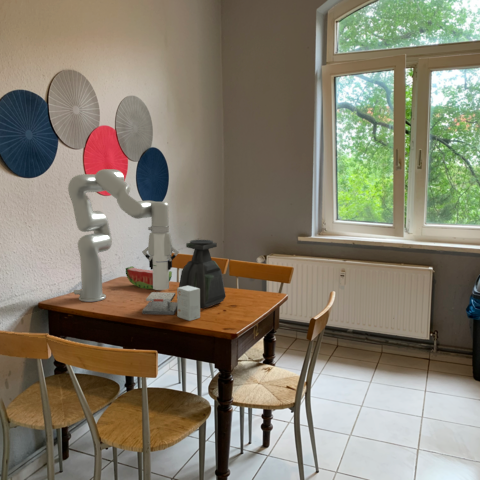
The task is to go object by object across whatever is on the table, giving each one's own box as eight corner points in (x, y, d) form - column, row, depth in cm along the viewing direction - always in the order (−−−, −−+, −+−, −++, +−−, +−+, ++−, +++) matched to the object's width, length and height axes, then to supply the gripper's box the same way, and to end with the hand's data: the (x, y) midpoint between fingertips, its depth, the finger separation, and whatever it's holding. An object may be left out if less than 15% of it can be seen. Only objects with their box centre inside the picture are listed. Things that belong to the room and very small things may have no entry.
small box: (200, 317, 197) (200, 288, 195) (189, 321, 192) (189, 291, 190) (188, 313, 202) (188, 285, 200) (176, 316, 197) (176, 287, 195)
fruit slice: (172, 289, 243) (172, 271, 241) (165, 292, 237) (165, 273, 236) (132, 283, 254) (132, 266, 252) (125, 286, 248) (124, 268, 246)
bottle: (226, 302, 219) (227, 241, 215) (205, 311, 206) (205, 245, 201) (198, 296, 229) (197, 237, 225) (175, 304, 216) (175, 241, 211)
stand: (142, 313, 201) (141, 299, 200) (149, 304, 214) (149, 291, 214) (173, 314, 200) (173, 300, 199) (179, 305, 214) (179, 291, 213)
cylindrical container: (165, 290, 202) (165, 234, 198) (150, 289, 203) (149, 233, 199) (171, 286, 209) (170, 232, 205) (156, 285, 210) (155, 231, 206)
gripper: (138, 230, 198) (139, 270, 201) (178, 231, 198) (178, 271, 201) (142, 228, 206) (143, 267, 209) (181, 229, 205) (181, 267, 208)
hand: (160, 268), depth 204 cm, fingers closed on cylindrical container, 7 cm apart
